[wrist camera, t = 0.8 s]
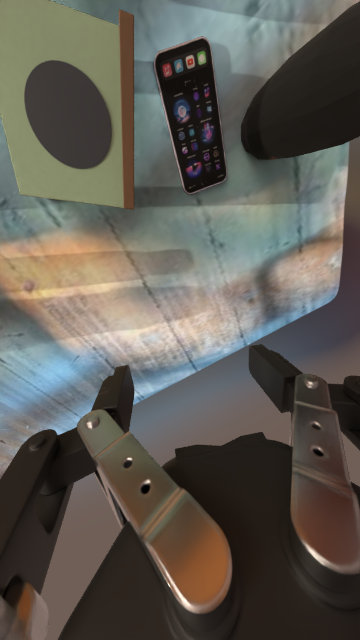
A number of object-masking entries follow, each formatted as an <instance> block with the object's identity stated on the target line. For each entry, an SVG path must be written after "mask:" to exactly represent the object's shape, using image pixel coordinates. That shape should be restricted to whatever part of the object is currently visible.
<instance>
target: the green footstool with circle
mask: <svg viewBox="0 0 360 640" xmlns="http://www.w3.org/2000/svg"><path fill="white" fill-rule="evenodd" d="M0 115H1V119H2V123H3V127H4V131H5V135H6V139H7V143H8V148H9V152H10V156H11V160H12V164H13V168H14V172H15V176H16V180H17V184H18V188H19V192H20V195H25V196H33V197H41V198H49V199H57V200H65V201H73V202H81V203H89V204H96V205H104V206H112V207H120V208H125V209H133V210H134V15H132V14H130V13H127V12H125V11H122V10H119V26H118V25H115V24H112V23H110V22H107V21H104V20H102V19H99V18H96V17H93V16H91V15H88V14H85V13H83V12H80V11H77V10H74V9H72V8H69V7H66V6H63V5H61V4H58V3H55V2H53V1H50V0H0Z"/></svg>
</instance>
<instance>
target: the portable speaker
mask: <svg viewBox="0 0 360 640" xmlns="http://www.w3.org/2000/svg"><path fill="white" fill-rule="evenodd" d="M359 136H360V1H359V2H358V3H356V4H355V5H353V6H351V7H350V8H348V9H347V10H346V11H345V12H344V13H342V14H341V15H340V16H339V17H338V18H336V19H335V20H334V21H333V22H332V23H330V24H329V25H328V26H327V27H326V28H324V29H323V30H322V31H321V32H320V33H319V34H317V35H316V36H315V37H314V38H313V39H311V40H310V41H309V42H308V43H307V44H305V45H304V46H303V47H302V48H301V49H299V50H298V51H297V52H296V53H295V54H293V55H292V56H291V57H290V58H289V59H288V60H287V61H286V62H285V63H284V64H283V65H282V66H281V67H280V68H279V69H278V70H277V71H276V72H275V74H274V75H273V76H272V77H271V78H270V79H269V80H268V81H267V82H266V84H265V85H264V86H263V87H262V88H261V89H260V91H259V92H258V93H257V94H256V95H255V97H254V98H253V100H252V102H251V104H250V106H249V108H248V110H247V112H246V115H245V117H244V120H243V122H242V125H241V140H242V143H243V145H244V148H245V150H246V152H248V153H250V154H252V155H253V156H254V157H256V158H257V159H262V160H270V159H282V158H290V157H295V156H300V155H304V154H308V153H311V152H315V151H319V150H323V149H327V148H331V147H334V146H338V145H342V144H344V143H346V142H348V141H351V140H353V139H355V138H357V137H359Z"/></svg>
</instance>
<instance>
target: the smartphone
mask: <svg viewBox="0 0 360 640" xmlns="http://www.w3.org/2000/svg"><path fill="white" fill-rule="evenodd" d="M154 71H155V75H156V79H157V83H158V87H159V91H160V96H161V100H162V104H163V108H164V112H165V116H166V120H167V124H168V128H169V132H170V136H171V140H172V144H173V149H174V153H175V157H176V161H177V165H178V169H179V173H180V177H181V181H182V185H183V189H184V191H185V192H186V193H187V194H193V193H196V192H198V191H201V190H203V189H206V188H208V187H211V186H214V185H216V184H219V183H222V182H223V181H224V180H225V179H226V177H227V167H226V159H225V151H224V143H223V136H222V128H221V120H220V113H219V105H218V97H217V90H216V82H215V74H214V66H213V59H212V51H211V46H210V43H209V41H208V39H207V38H206V37H203V36H201V37H198V38H195V39H193V40H190V41H187V42H184V43H181V44H178V45H176V46H173V47H170V48H167V49H164V50H161V51H159V52H158V53H157V54H156V56H155V60H154Z"/></svg>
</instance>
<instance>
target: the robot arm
mask: <svg viewBox="0 0 360 640" xmlns="http://www.w3.org/2000/svg"><path fill="white" fill-rule="evenodd" d="M249 371H250V373H251V375H252V376H253V378H254V379H255V380H256V382H257V383H258V384H259V385H260V387H261V388H262V389H263V390H264V392H265V393H266V394H267V395H268V397H269V398H270V399H271V401H272V402H273V403H274V404H275V406H276V407H277V408H278V410H279V411H280V412H281V413H284V412H289V411H290V413H291V426H290V442H289V445H287V444H284V443H282V442H278V441H274V440H268V439H266V438H265V436H264V434H263V432H259V433H254V434H249V435H244V436H240V437H238V438H236V439H235V440H232V441H230V442H228V443H226V444H225V445H222V446H211V445H193V446H188V447H183V448H177V449H175V453H176V457H175V458H173V459H171V460H170V461H168V462H167V463H165V464H164V465H163V466H162V467H161V466H160V465H159V464H158V463H157V462H156V461H155V460H154V458H153V457H152V456H151V455H150V454H149V453H148V452H147V451H146V449H144V447H143V446H142V445H141V444H140V443H139V441H138V440H137V439H136V438H135V437H134V436H133V435H132V434H131V433H130V432H129V427H130V420H131V413H132V407H133V400H134V385H133V380H132V376H131V372H130V367H129V365H125V366H119V367H116V369H115V372H114V375H113V376H108V377H107V378H106V379H105V380H104V381H103V383H102V386H101V389H100V390H99V394H98V395H97V398H96V400H95V403H94V405H93V408H92V410H91V412H89V413H88V414H86V415H85V416H83V417H82V418H81V419H80V421H79V422H78V424H77V427H76V428H74V429H72V430H70V431H67V432H65V433H62V434H60V435H57V433H56V431H55V430H52V429H48V430H43V431H41V432H38V433H36V434H35V435H33V436H32V437H30V438H29V439H28V440H27V441H26V442H24V444H23V445H22V446H21V447H20V449H19V451H18V452H17V454H16V455H15V457H14V459H13V460H12V462H11V463H10V465H9V466H8V468H7V470H6V471H5V473H4V474H3V476H2V478H1V479H0V640H46V636H47V630H48V624H49V611H48V607H47V605H46V603H45V602H44V601H43V599H42V598H41V597H40V593H41V591H42V588H43V584H44V581H45V577H46V574H47V571H48V568H49V564H50V561H51V558H52V554H53V551H54V547H55V544H56V541H57V538H58V534H59V531H60V528H61V524H62V521H63V518H64V514H65V511H66V508H67V504H68V501H69V498H70V494H71V491H72V488H73V485H74V482H76V481H78V480H80V479H82V478H84V477H85V476H87V475H89V474H91V473H93V472H94V474H95V476H96V478H97V480H98V482H99V484H100V486H101V488H102V489H103V491H104V493H105V495H106V497H107V499H108V501H109V503H110V505H111V507H112V509H113V512H114V514H115V516H116V518H117V520H118V522H119V524H120V526H121V528H122V530H121V532H120V533H119V535H118V537H117V538H116V540H115V542H114V543H113V545H112V547H111V549H110V550H109V552H108V554H107V555H106V557H105V559H104V560H103V562H102V564H101V565H100V567H99V569H98V570H97V572H96V574H95V576H94V577H93V579H92V580H91V582H90V584H89V585H88V587H87V589H86V591H85V592H84V594H83V596H82V597H81V599H80V601H79V602H78V604H77V606H76V607H75V609H74V611H73V612H72V614H71V616H70V618H69V619H68V621H67V623H66V625H65V626H64V628H63V630H62V632H61V634H60V636H59V638H58V640H360V487H359V486H357V485H356V484H354V483H352V482H351V481H350V477H349V472H348V466H347V461H346V456H345V451H344V446H343V441H342V436H341V432H342V433H343V434H344V435H345V436H346V437H347V438H348V439H349V440H350V441H351V442H352V443H353V444H354V445H355V446H356V447H357V448H358V449H359V450H360V376H348V377H346V378H345V379H344V383H343V384H327V382H326V381H325V380H323V379H322V378H320V377H318V376H315V375H312V374H303V373H302V372H301V371H300V370H298V369H297V368H296V367H294V366H293V365H292V364H291V363H289V361H287V360H286V359H284V357H282V356H281V355H280V354H279V353H276V352H274V351H272V350H268V349H267V348H266V347H265V346H263V345H262V344H260V345H253V346H250V347H249Z"/></svg>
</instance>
